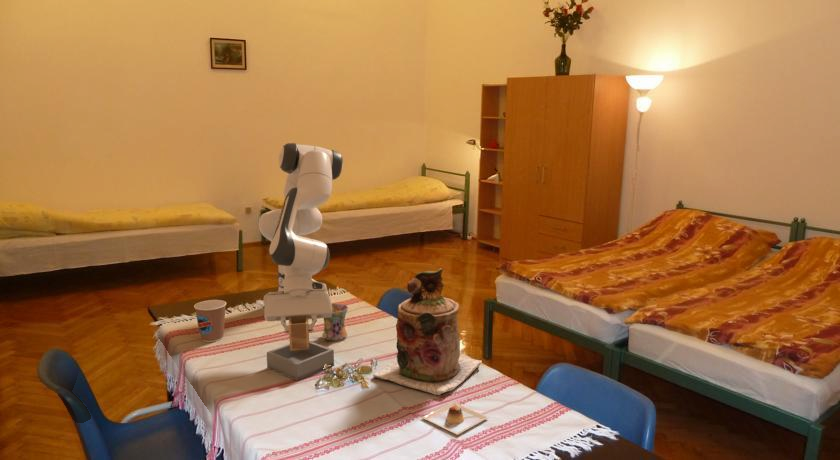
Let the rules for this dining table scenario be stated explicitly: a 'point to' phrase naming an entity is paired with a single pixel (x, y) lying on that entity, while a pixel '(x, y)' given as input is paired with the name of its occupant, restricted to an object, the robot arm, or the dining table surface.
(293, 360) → the grey crate
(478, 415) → the dessert
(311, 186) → the robot arm
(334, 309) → the mug
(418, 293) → the cookie jar
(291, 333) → the square wooden cup
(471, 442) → the dining table surface
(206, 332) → the coffee cup
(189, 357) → the dining table surface
